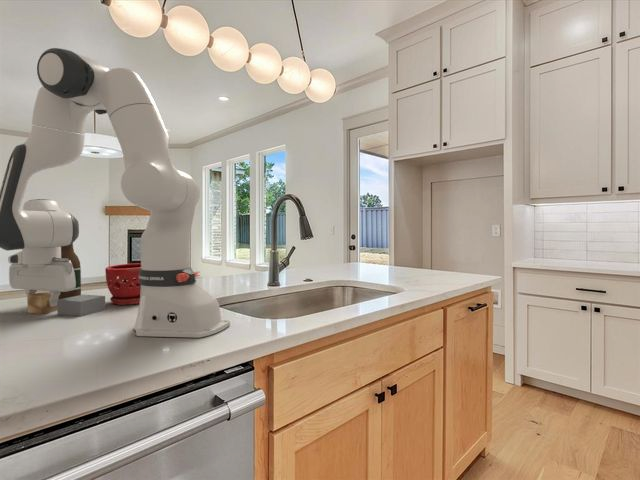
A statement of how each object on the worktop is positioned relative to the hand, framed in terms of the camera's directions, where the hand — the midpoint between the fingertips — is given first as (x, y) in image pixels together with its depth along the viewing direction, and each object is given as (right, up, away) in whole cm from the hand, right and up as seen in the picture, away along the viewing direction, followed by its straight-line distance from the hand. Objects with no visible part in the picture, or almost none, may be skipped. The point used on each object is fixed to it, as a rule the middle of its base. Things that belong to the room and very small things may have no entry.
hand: (43, 305), depth 103 cm
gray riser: (+11, -2, 0) cm, 11 cm away
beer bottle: (-1, -1, +12) cm, 12 cm away
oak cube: (0, -2, 0) cm, 2 cm away
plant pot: (+18, -2, +13) cm, 22 cm away
